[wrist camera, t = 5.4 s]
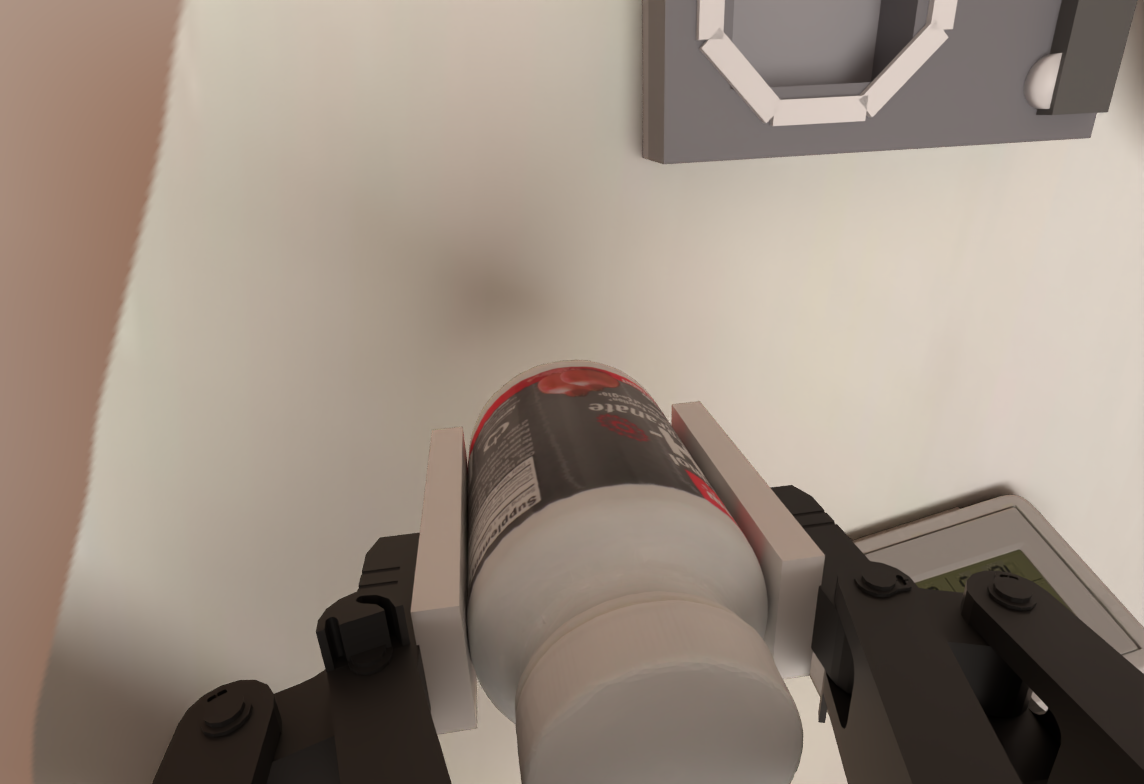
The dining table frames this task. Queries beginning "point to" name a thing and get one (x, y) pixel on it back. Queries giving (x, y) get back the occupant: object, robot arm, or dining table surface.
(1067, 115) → the octagonal hole plate
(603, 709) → the pill bottle
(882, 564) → the robot arm
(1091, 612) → the digital clock
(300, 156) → the dining table surface
